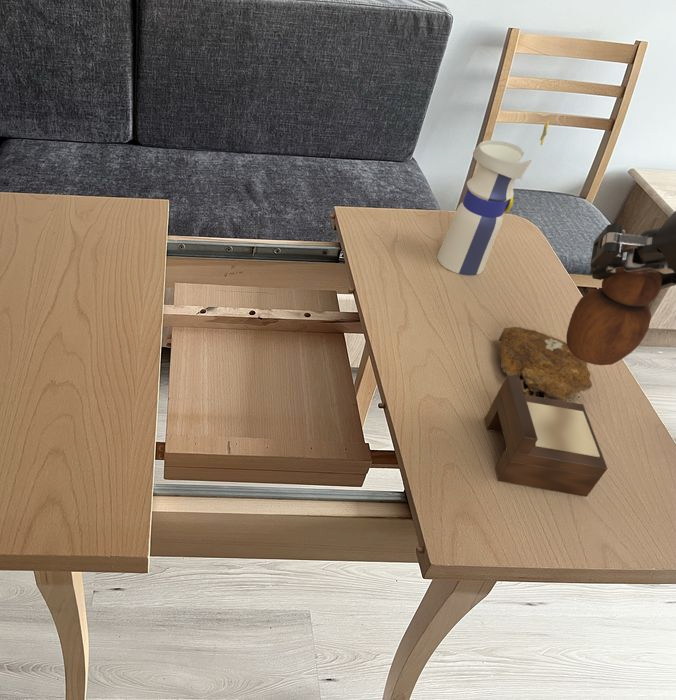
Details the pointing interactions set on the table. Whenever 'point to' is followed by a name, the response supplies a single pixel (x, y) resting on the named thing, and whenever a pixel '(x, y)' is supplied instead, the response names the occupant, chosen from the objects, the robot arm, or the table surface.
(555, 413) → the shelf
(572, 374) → the decorative rock
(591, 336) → the wooden figurine
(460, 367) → the table surface
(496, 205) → the water bottle
